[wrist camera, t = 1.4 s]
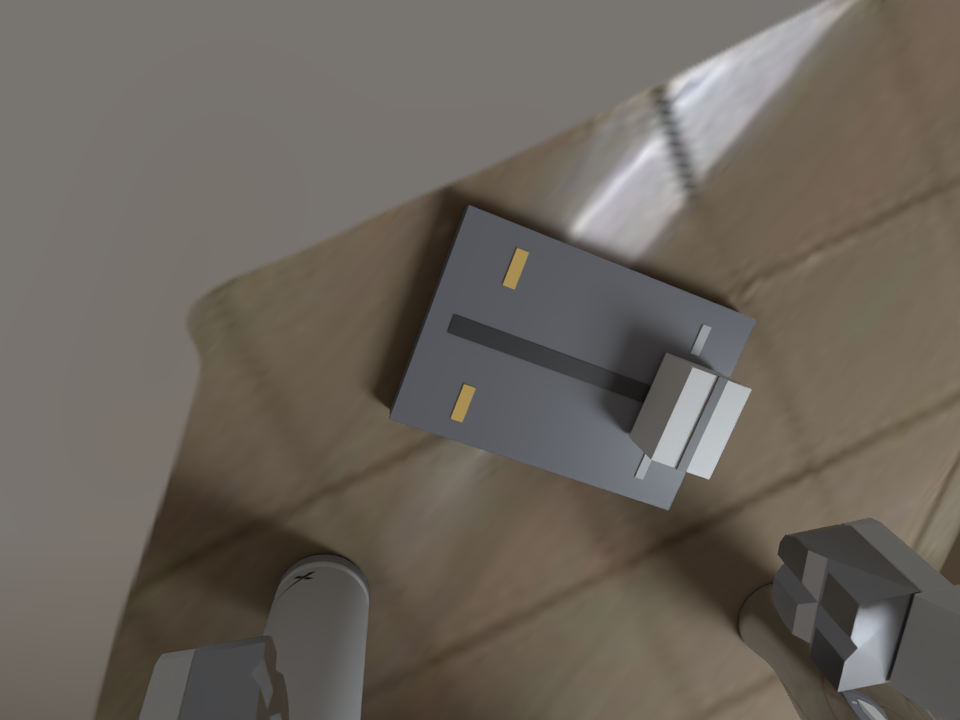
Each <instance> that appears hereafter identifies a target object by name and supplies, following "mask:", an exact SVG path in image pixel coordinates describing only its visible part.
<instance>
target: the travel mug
mask: <svg viewBox="0 0 960 720" xmlns="http://www.w3.org/2000/svg"><path fill="white" fill-rule="evenodd" d="M369 599H370V592H369V586H368V582H367V580H366V578H365V576H364V574H363V573H362V572H361V570H360V569H359V568H358V567H357V566H356V565H354V564H353V563H352V562H350V561H348V560H346V559H345V558H342V557H339V556H335V555H328V554H324V555H314V556H310V557H307V558H304V559H302V560H300V561H298V562H297V563H295V564H293V565H292V566H291V567H290V568H289V569H288V570H287V571H286V572H285V574H284V575H283V577H282V578H281V580H280V583H279V585H278V588H277V591H276V594H275V598H274V601H273V604H272V607H271V610H270V613H269V616H268V620H267V623H266V626H265V629H264V632H263V635H262V636H267V635H269V636H271V637H272V638H273V642H274V645H275V648H276V651H277V659H276V670H277V671H278V672H280V673H282V674H283V676H284V680H285V684H286V689H287V696H288V702H289V720H360V717H361V704H362V691H363V678H364V665H365V651H366V638H367V625H368V612H369V611H368V609H369Z"/></svg>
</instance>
